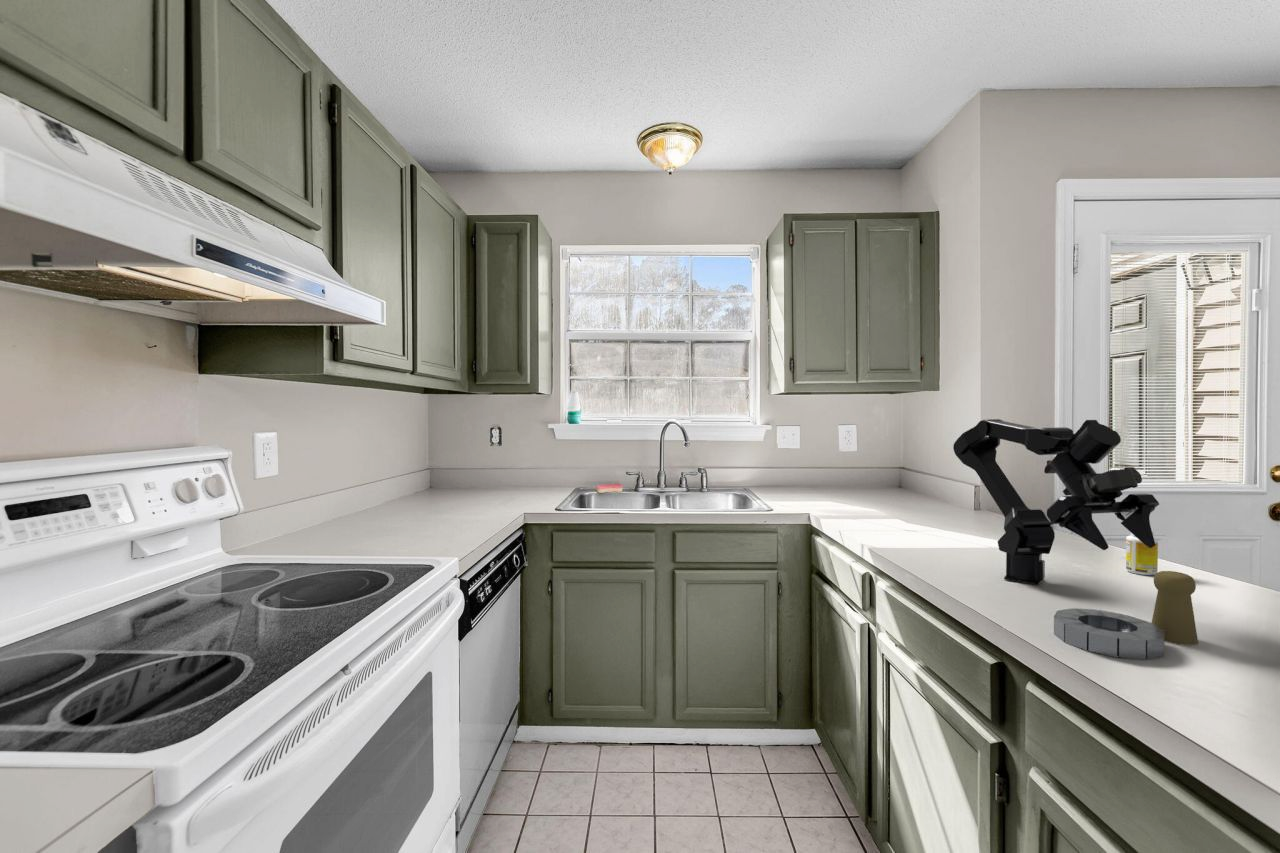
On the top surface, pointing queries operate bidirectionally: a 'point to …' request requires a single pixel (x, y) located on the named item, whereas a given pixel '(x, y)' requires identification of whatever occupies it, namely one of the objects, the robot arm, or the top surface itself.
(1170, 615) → the cork
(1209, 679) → the top surface
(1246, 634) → the top surface
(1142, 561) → the supplement bottle
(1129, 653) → the ring
